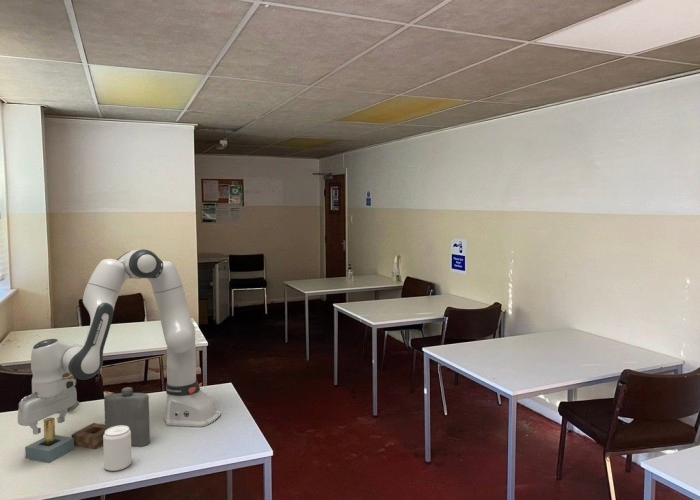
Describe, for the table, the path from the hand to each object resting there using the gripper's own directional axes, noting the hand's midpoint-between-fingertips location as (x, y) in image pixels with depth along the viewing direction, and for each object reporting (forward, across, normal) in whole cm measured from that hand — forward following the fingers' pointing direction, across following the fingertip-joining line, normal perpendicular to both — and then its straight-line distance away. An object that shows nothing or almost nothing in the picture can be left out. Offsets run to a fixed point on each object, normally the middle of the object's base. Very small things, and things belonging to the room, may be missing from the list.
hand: (49, 427), depth 166 cm
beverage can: (+9, 0, -28) cm, 30 cm away
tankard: (+9, +31, +27) cm, 42 cm away
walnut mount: (+9, +12, -7) cm, 17 cm away
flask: (+9, +14, -20) cm, 26 cm away
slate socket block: (+9, 0, 0) cm, 9 cm away
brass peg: (+9, 0, 0) cm, 9 cm away
